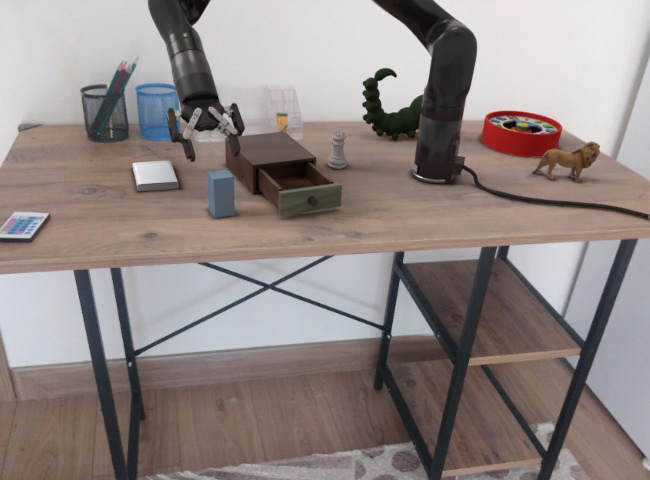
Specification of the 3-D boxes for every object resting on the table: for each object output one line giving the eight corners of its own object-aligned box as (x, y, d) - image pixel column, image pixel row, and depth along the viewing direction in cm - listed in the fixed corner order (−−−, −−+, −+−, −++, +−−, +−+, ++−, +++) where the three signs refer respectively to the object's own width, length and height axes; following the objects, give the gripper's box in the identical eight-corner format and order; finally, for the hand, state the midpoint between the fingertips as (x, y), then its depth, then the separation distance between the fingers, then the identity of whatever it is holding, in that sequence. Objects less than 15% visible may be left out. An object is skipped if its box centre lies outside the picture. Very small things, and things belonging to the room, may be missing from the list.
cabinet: (315, 185, 141) (316, 157, 137) (253, 194, 135) (252, 165, 131) (283, 157, 153) (284, 131, 150) (225, 164, 147) (224, 137, 144)
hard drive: (178, 181, 134) (170, 159, 144) (137, 184, 131) (131, 162, 141) (178, 188, 135) (170, 166, 144) (138, 192, 132) (132, 169, 142)
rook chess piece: (344, 170, 149) (347, 136, 145) (325, 168, 149) (327, 134, 145) (348, 163, 153) (350, 130, 148) (329, 161, 153) (331, 128, 149)
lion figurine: (587, 174, 156) (597, 138, 152) (595, 183, 152) (606, 146, 147) (527, 172, 155) (536, 135, 151) (534, 180, 151) (543, 143, 146)
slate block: (234, 215, 126) (233, 176, 122) (215, 218, 124) (213, 179, 120) (228, 207, 129) (227, 169, 124) (208, 209, 127) (206, 171, 123)
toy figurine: (369, 150, 166) (459, 139, 171) (369, 75, 156) (465, 65, 160) (359, 137, 174) (445, 127, 179) (358, 65, 163) (450, 56, 168)
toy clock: (500, 134, 160) (475, 109, 176) (495, 156, 163) (471, 130, 180) (575, 135, 163) (544, 111, 179) (569, 157, 166) (539, 131, 183)
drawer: (343, 208, 129) (345, 187, 127) (282, 218, 124) (283, 196, 121) (306, 176, 142) (307, 156, 140) (250, 184, 137) (250, 163, 134)
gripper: (159, 72, 119) (181, 153, 117) (233, 68, 125) (255, 145, 123) (155, 93, 126) (175, 170, 124) (225, 88, 132) (245, 162, 130)
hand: (215, 157), depth 123 cm, fingers open, 8 cm apart
